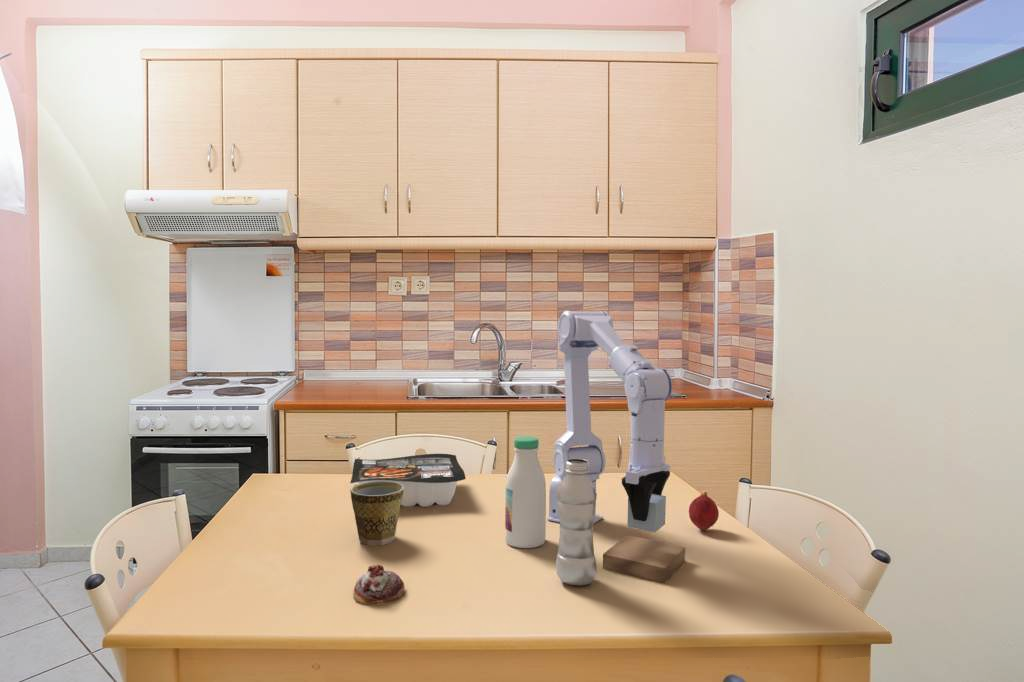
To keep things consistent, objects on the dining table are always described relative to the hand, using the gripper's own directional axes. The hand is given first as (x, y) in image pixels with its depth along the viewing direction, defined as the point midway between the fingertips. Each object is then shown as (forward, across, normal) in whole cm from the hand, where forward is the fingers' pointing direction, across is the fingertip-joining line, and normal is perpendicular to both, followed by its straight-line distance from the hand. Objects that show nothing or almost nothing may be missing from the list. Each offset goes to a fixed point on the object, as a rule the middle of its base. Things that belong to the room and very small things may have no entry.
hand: (645, 515), depth 113 cm
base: (+9, 0, 0) cm, 9 cm away
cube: (+2, 0, 0) cm, 2 cm away
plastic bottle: (+9, -13, +7) cm, 17 cm away
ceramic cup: (+9, -16, +49) cm, 52 cm away
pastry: (+9, -33, +31) cm, 47 cm away
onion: (+9, +23, -4) cm, 25 cm away
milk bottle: (+9, -2, +23) cm, 25 cm away
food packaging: (+9, +9, +62) cm, 63 cm away
